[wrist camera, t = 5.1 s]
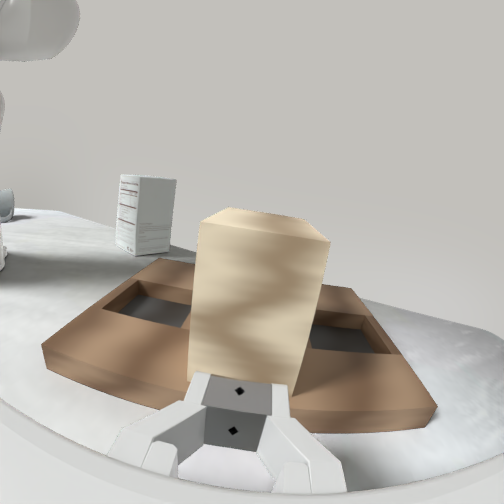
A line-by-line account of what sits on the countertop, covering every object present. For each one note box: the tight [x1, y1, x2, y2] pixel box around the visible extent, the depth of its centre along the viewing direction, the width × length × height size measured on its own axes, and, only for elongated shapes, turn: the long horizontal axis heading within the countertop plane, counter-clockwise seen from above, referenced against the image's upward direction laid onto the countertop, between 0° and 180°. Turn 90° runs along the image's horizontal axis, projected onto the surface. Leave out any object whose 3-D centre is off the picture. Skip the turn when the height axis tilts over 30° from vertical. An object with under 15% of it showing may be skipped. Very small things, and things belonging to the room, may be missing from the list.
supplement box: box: [116, 175, 176, 256], centre depth 47 cm, size 7×7×13 cm
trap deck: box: [41, 258, 438, 433], centre depth 26 cm, size 26×24×2 cm
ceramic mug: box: [0, 189, 14, 223], centre depth 51 cm, size 11×8×8 cm
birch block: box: [187, 207, 330, 397], centre depth 19 cm, size 6×10×9 cm, turn 177°
